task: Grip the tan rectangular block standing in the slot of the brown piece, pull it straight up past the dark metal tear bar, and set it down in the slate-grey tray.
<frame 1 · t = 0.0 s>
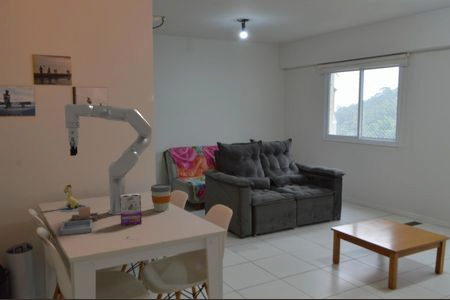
hand: (74, 154, 222), 37 cm above the table, tool pointing down, fingers open, 9 cm apart
brown piece: (84, 219, 218), on the table
tan rectangular block: (84, 219, 218), resting in brown piece
candy bar box: (131, 223, 211), on the table
reusable coffee cup: (161, 209, 240), on the table
tray: (77, 229, 200), on the table
stuffed giraffe: (72, 209, 243), on the table
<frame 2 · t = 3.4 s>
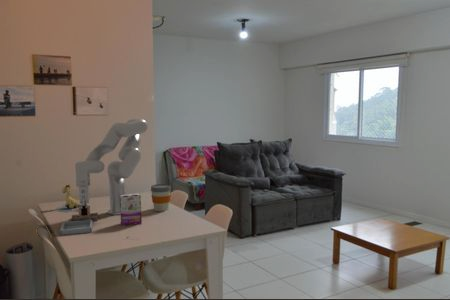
hand: (84, 214, 218), 3 cm above the table, tool pointing down, fingers closed on tan rectangular block, 2 cm apart
tan rectangular block: (84, 218, 218), point 1 cm above the table, touching gripper
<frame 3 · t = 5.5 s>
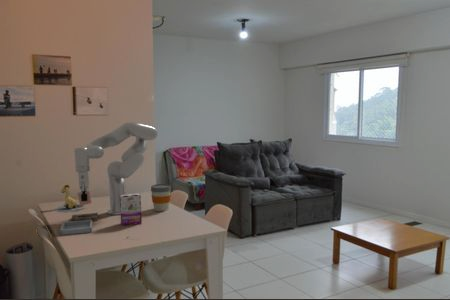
hand: (84, 200, 217), 11 cm above the table, tool pointing down, fingers closed on tan rectangular block, 2 cm apart
tan rectangular block: (85, 203, 218), point 9 cm above the table, tilted 7°, touching gripper
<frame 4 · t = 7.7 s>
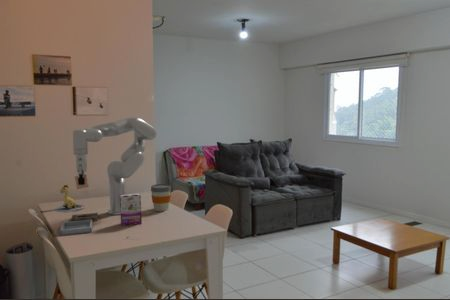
hand: (81, 183, 214), 21 cm above the table, tool pointing down, fingers closed on tan rectangular block, 2 cm apart
tan rectangular block: (82, 187, 214), point 19 cm above the table, tilted 8°, touching gripper
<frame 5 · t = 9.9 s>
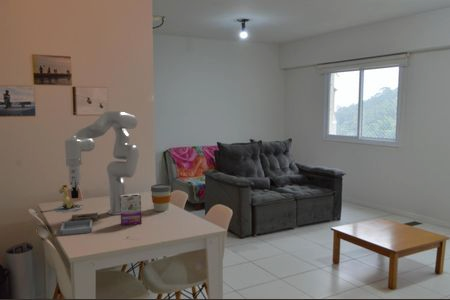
hand: (75, 197, 198), 18 cm above the table, tool pointing down, fingers closed on tan rectangular block, 2 cm apart
tan rectangular block: (76, 201, 199), point 15 cm above the table, tilted 11°, touching gripper
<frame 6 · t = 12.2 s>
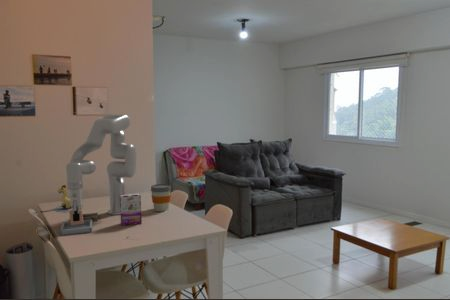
hand: (76, 219, 200), 5 cm above the table, tool pointing down, fingers closed on tan rectangular block
tan rectangular block: (77, 223, 200), point 3 cm above the table, touching gripper
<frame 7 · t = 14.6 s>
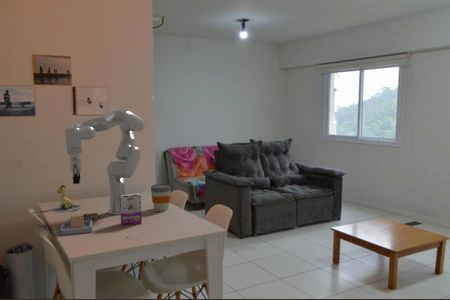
hand: (77, 181, 204), 24 cm above the table, tool pointing down, fingers open, 9 cm apart
tan rectangular block: (77, 228, 200), resting on tray
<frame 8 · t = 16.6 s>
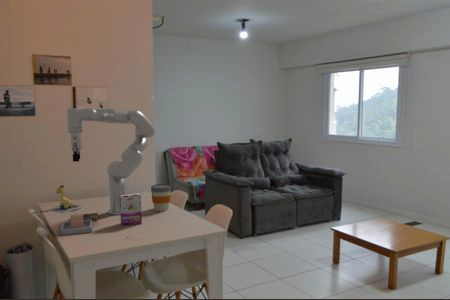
hand: (76, 160, 216), 34 cm above the table, tool pointing down, fingers open, 9 cm apart
at the end: tan rectangular block inside the target area on the tray (0.3 cm from its centre), point 0.5 cm above the tray's base; tan rectangular block moved 18.0 cm from its start; the gripper is holding nothing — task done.
